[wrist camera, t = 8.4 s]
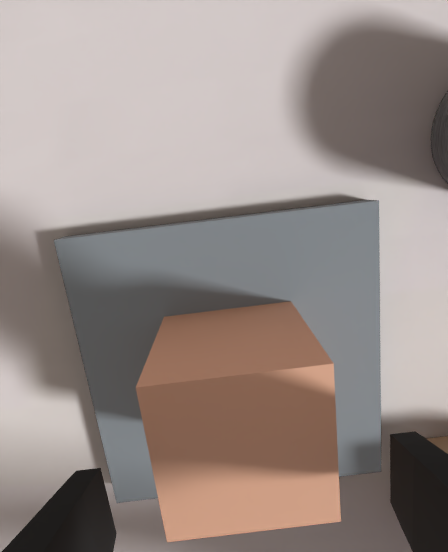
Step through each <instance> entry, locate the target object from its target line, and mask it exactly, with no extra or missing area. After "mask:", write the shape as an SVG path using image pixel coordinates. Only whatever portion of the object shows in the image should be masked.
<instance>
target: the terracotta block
mask: <svg viewBox="0 0 448 552" xmlns="http://www.w3.org/2000/svg"><path fill="white" fill-rule="evenodd" d="M136 392H137V397H138V402H139V406H140V411H141V416H142V421H143V426H144V431H145V436H146V441H147V446H148V451H149V456H150V461H151V465H152V470H153V475H154V480H155V485H156V490H157V495H158V500H159V505H160V510H161V515H162V520H163V524H164V529H165V534H166V539H167V542H174V541H182V540H191V539H199V538H208V537H216V536H224V535H233V534H241V533H250V532H258V531H266V530H275V529H283V528H291V527H300V526H308V525H317V524H325V523H333V522H341V512H340V490H339V468H338V446H337V424H336V402H335V381H334V363H333V362H332V360H331V359H330V357H329V356H328V355H327V353H326V352H325V350H324V349H323V347H322V346H321V344H320V343H319V341H318V340H317V338H316V337H315V336H314V334H313V333H312V331H311V330H310V328H309V327H308V325H307V324H306V322H305V321H304V320H303V318H302V317H301V315H300V314H299V312H298V311H297V309H296V308H295V306H294V305H293V303H292V302H291V301H290V302H281V303H273V304H265V305H257V306H248V307H240V308H232V309H224V310H215V311H207V312H199V313H191V314H182V315H174V316H166V317H164V318H163V320H162V323H161V325H160V328H159V330H158V333H157V335H156V338H155V340H154V343H153V345H152V348H151V350H150V353H149V355H148V358H147V360H146V363H145V365H144V368H143V370H142V373H141V375H140V378H139V380H138V383H137V385H136Z"/></svg>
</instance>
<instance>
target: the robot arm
mask: <svg viewBox="0 0 448 552" xmlns="http://www.w3.org/2000/svg"><path fill="white" fill-rule="evenodd" d="M390 483H391V504H392V506H393V509H394V511H395V513H396V516H397V518H398V520H399V522H400V525H401V527H402V529H403V531H404V534H405V536H406V538H407V540H408V542H409V544H410V547H411V549H412V551H413V552H448V454H447V453H446V452H444V451H443V450H442V449H440V448H439V447H437V446H436V445H434V444H433V443H432V442H430V441H429V440H427V439H426V438H424V437H423V436H421V435H420V434H418V433H417V432H407V433H398V434H390ZM115 538H116V530H115V526H114V522H113V517H112V513H111V509H110V505H109V501H108V497H107V493H106V489H105V485H104V481H103V476H102V472H101V468H97V469H89V470H80V471H76V472H75V473H74V474H73V475H72V476H71V477H70V478H69V479H68V480H67V481H66V482H65V483H64V484H63V486H62V487H61V488H60V489H59V490H58V491H57V492H56V493H55V494H54V495H53V497H52V498H51V499H50V500H49V501H48V502H47V503H46V504H45V505H44V507H43V508H42V509H41V510H40V511H39V512H38V513H37V514H36V515H35V516H34V518H33V519H32V520H31V521H30V522H29V523H28V524H27V525H26V526H25V527H24V528H23V530H22V531H21V532H20V533H19V534H18V535H17V536H16V537H15V538H14V539H13V540H12V541H11V542H10V544H9V545H8V546H7V547H6V548H5V549H4V550H3V551H2V552H113V549H114V544H115Z"/></svg>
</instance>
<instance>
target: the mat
mask: <svg viewBox="0 0 448 552" xmlns="http://www.w3.org/2000/svg"><path fill="white" fill-rule="evenodd" d="M54 243H55V247H56V251H57V255H58V260H59V264H60V268H61V272H62V276H63V281H64V285H65V289H66V293H67V297H68V301H69V306H70V310H71V314H72V318H73V322H74V327H75V331H76V335H77V339H78V343H79V347H80V352H81V356H82V360H83V364H84V368H85V373H86V377H87V381H88V385H89V389H90V393H91V398H92V402H93V406H94V410H95V414H96V419H97V423H98V427H99V431H100V435H101V439H102V444H103V448H104V452H105V456H106V460H107V465H108V469H109V473H110V477H111V481H112V485H113V490H114V494H115V498H116V502H117V503H121V502H130V501H138V500H146V499H155V498H158V495H157V490H156V485H155V480H154V475H153V470H152V465H151V461H150V456H149V451H148V446H147V441H146V436H145V431H144V426H143V421H142V416H141V411H140V406H139V402H138V397H137V392H136V385H137V383H138V380H139V378H140V375H141V373H142V370H143V368H144V365H145V363H146V360H147V358H148V355H149V353H150V350H151V348H152V345H153V343H154V340H155V338H156V335H157V333H158V330H159V328H160V325H161V323H162V320H163V318H164V317H166V316H174V315H182V314H191V313H199V312H207V311H215V310H224V309H232V308H240V307H248V306H257V305H265V304H273V303H281V302H290V301H291V302H292V303H293V305H294V306H295V308H296V309H297V311H298V312H299V314H300V315H301V317H302V318H303V320H304V321H305V322H306V324H307V325H308V327H309V328H310V330H311V331H312V333H313V334H314V336H315V337H316V338H317V340H318V341H319V343H320V344H321V346H322V347H323V349H324V350H325V352H326V353H327V355H328V356H329V357H330V359H331V360H332V362H333V363H334V381H335V402H336V424H337V446H338V468H339V477H340V476H348V475H357V474H365V473H374V472H381V386H380V271H379V201H377V200H362V201H354V202H346V203H337V204H329V205H321V206H313V207H304V208H296V209H288V210H280V211H272V212H263V213H255V214H247V215H239V216H230V217H222V218H214V219H206V220H197V221H189V222H181V223H173V224H164V225H156V226H148V227H140V228H132V229H123V230H115V231H107V232H99V233H90V234H82V235H74V236H66V237H62V238H59V239H56V240H54Z"/></svg>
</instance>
